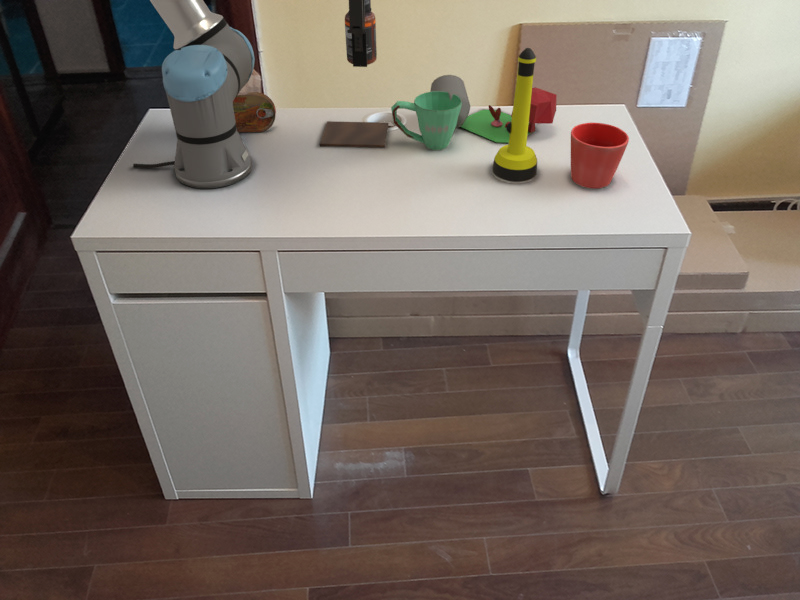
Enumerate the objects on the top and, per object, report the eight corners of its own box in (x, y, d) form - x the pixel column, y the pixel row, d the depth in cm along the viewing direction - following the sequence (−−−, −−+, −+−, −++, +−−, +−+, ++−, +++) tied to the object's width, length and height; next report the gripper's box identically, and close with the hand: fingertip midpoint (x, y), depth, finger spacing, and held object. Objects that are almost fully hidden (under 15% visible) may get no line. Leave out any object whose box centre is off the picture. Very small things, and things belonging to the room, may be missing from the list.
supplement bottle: (368, 53, 139) (366, -6, 132) (382, 63, 135) (381, 3, 128) (341, 58, 137) (338, -1, 130) (355, 68, 133) (352, 8, 126)
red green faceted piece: (522, 153, 144) (528, 113, 139) (452, 124, 155) (454, 85, 150) (564, 132, 153) (570, 93, 147) (494, 105, 164) (498, 67, 158)
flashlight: (554, 41, 125) (505, 38, 127) (552, 59, 119) (500, 55, 120) (537, 163, 141) (494, 159, 143) (535, 185, 135) (489, 181, 136)
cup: (426, 110, 146) (425, 73, 150) (429, 137, 155) (427, 101, 159) (471, 107, 146) (468, 70, 150) (471, 134, 154) (469, 98, 158)
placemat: (320, 146, 148) (319, 143, 148) (327, 123, 156) (327, 121, 156) (384, 147, 147) (384, 145, 147) (388, 125, 156) (388, 122, 155)
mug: (459, 135, 152) (462, 91, 145) (459, 156, 144) (461, 111, 138) (393, 133, 153) (393, 90, 146) (389, 154, 145) (388, 109, 139)
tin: (209, 133, 153) (202, 97, 148) (212, 127, 156) (205, 91, 150) (277, 131, 154) (272, 95, 148) (278, 125, 156) (274, 89, 151)
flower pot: (603, 163, 141) (612, 119, 135) (628, 190, 133) (639, 144, 127) (555, 168, 140) (562, 124, 133) (577, 196, 131) (585, 150, 125)
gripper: (372, -57, 114) (376, 79, 129) (383, -82, 128) (385, 43, 143) (327, -58, 114) (336, 77, 129) (344, -82, 129) (350, 42, 144)
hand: (362, 59), depth 136 cm, fingers closed on supplement bottle, 6 cm apart
